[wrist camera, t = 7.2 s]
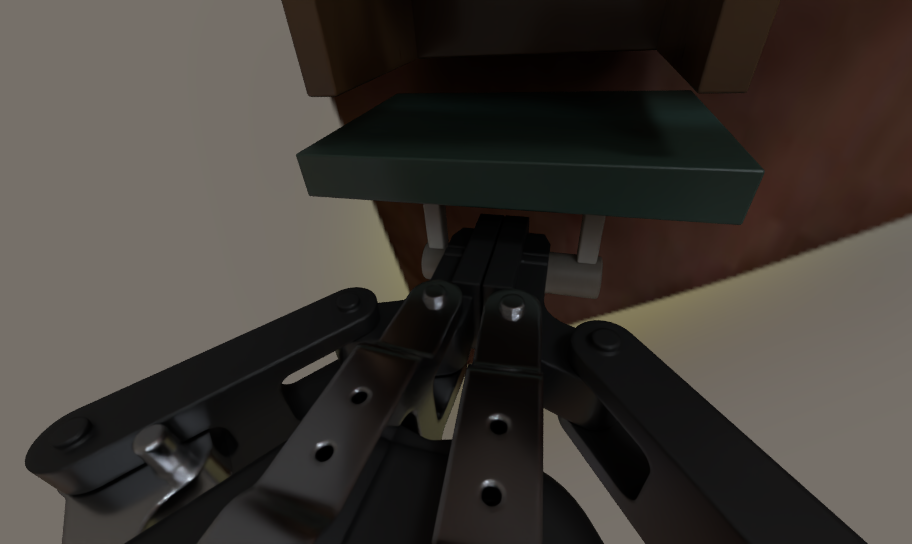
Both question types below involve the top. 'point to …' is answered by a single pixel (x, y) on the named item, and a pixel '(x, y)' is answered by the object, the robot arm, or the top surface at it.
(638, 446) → the robot arm
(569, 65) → the top surface
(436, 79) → the top surface
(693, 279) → the top surface
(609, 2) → the drawer
